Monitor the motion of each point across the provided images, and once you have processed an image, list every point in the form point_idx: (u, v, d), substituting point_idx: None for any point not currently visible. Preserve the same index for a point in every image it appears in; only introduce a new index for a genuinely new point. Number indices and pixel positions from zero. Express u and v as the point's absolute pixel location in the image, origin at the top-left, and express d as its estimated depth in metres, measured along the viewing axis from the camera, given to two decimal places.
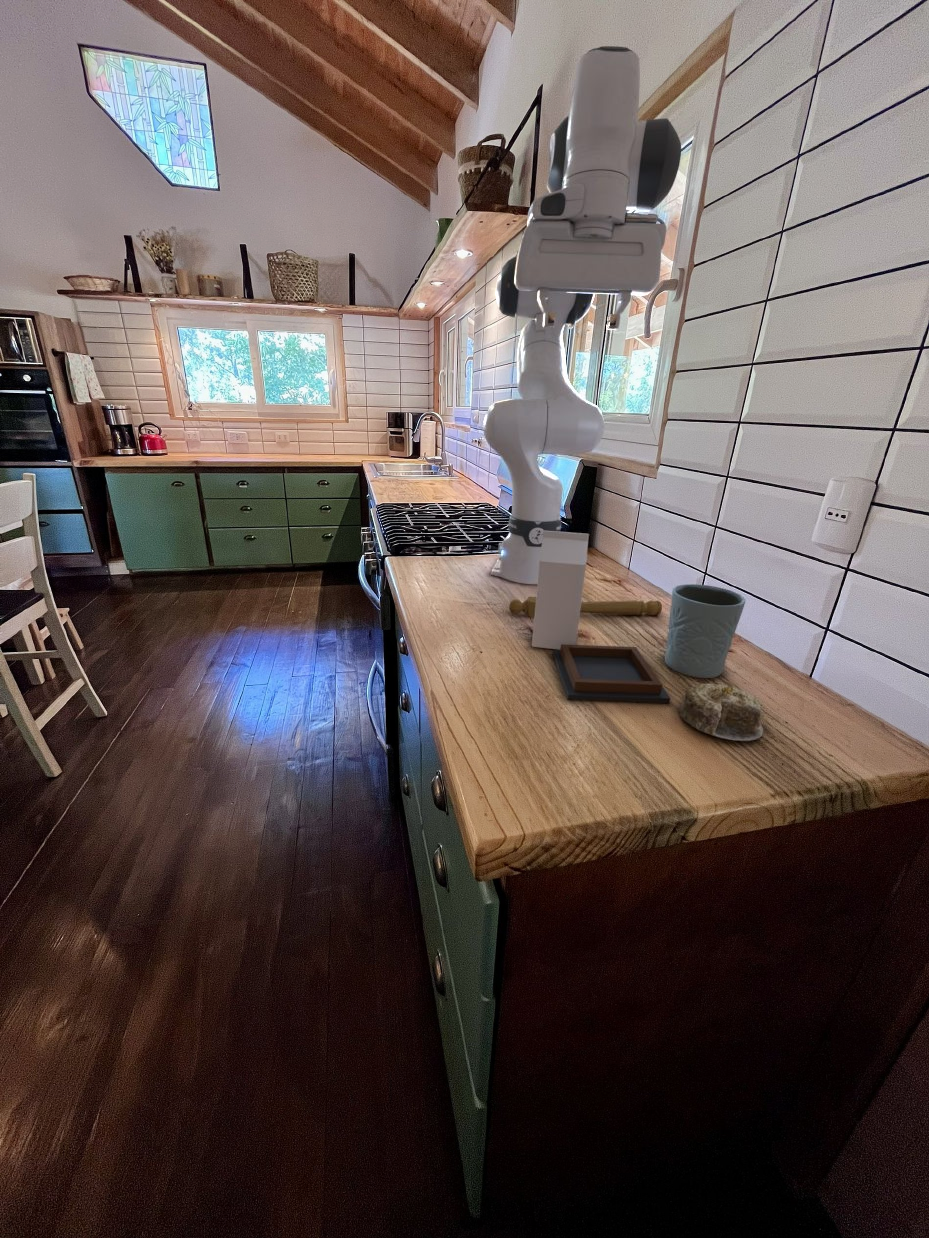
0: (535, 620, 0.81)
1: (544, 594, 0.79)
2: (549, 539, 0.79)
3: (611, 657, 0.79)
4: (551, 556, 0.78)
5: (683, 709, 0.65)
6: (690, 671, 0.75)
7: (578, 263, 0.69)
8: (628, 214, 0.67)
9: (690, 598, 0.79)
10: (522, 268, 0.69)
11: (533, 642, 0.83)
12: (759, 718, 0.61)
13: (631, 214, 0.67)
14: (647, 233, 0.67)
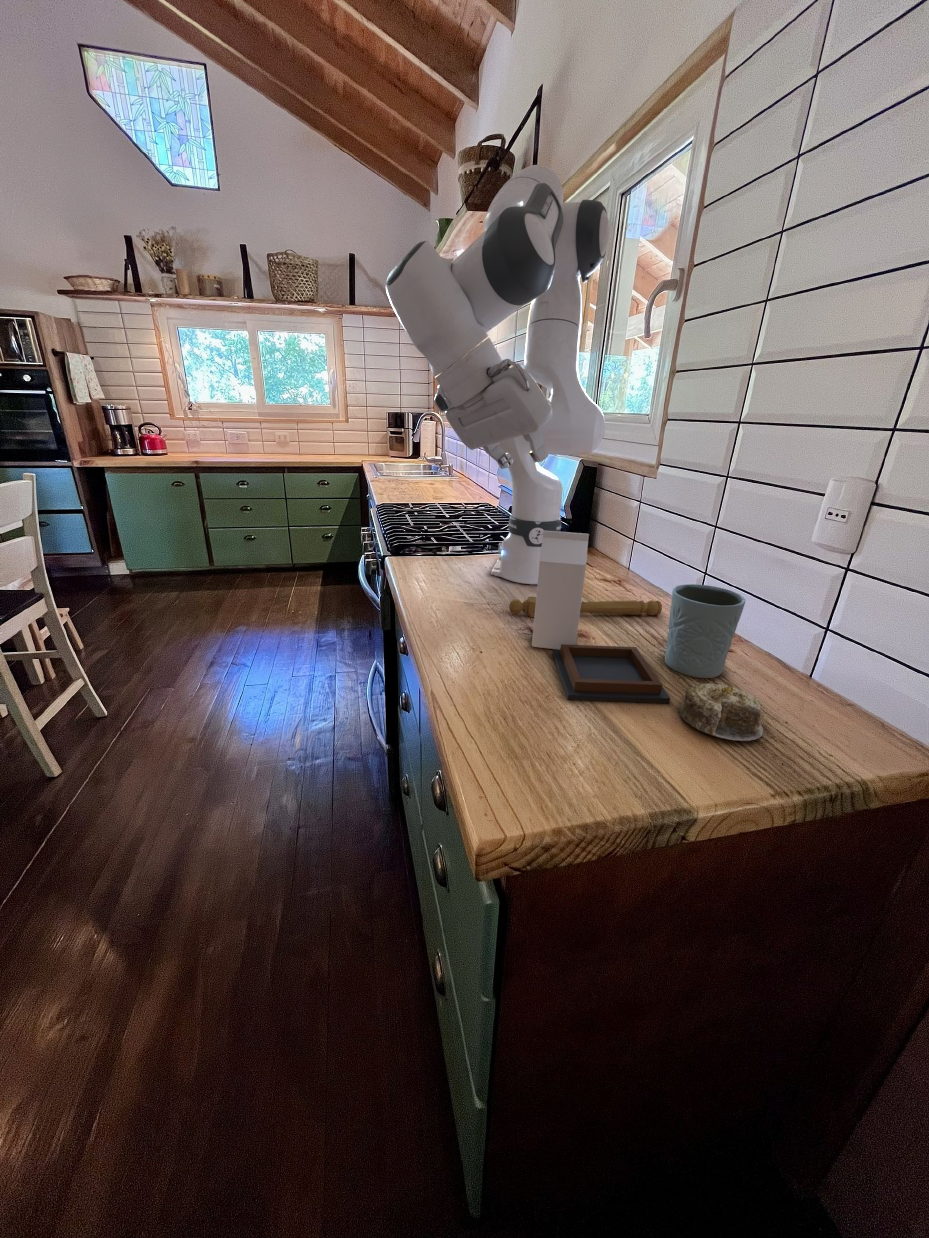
0: (535, 620, 0.81)
1: (544, 594, 0.79)
2: (549, 539, 0.79)
3: (611, 657, 0.79)
4: (551, 556, 0.78)
5: (683, 709, 0.65)
6: (690, 671, 0.75)
7: (483, 427, 0.72)
8: (488, 371, 0.64)
9: (690, 598, 0.79)
10: (463, 441, 0.79)
11: (533, 642, 0.83)
12: (759, 718, 0.61)
13: (490, 370, 0.63)
14: (501, 390, 0.62)
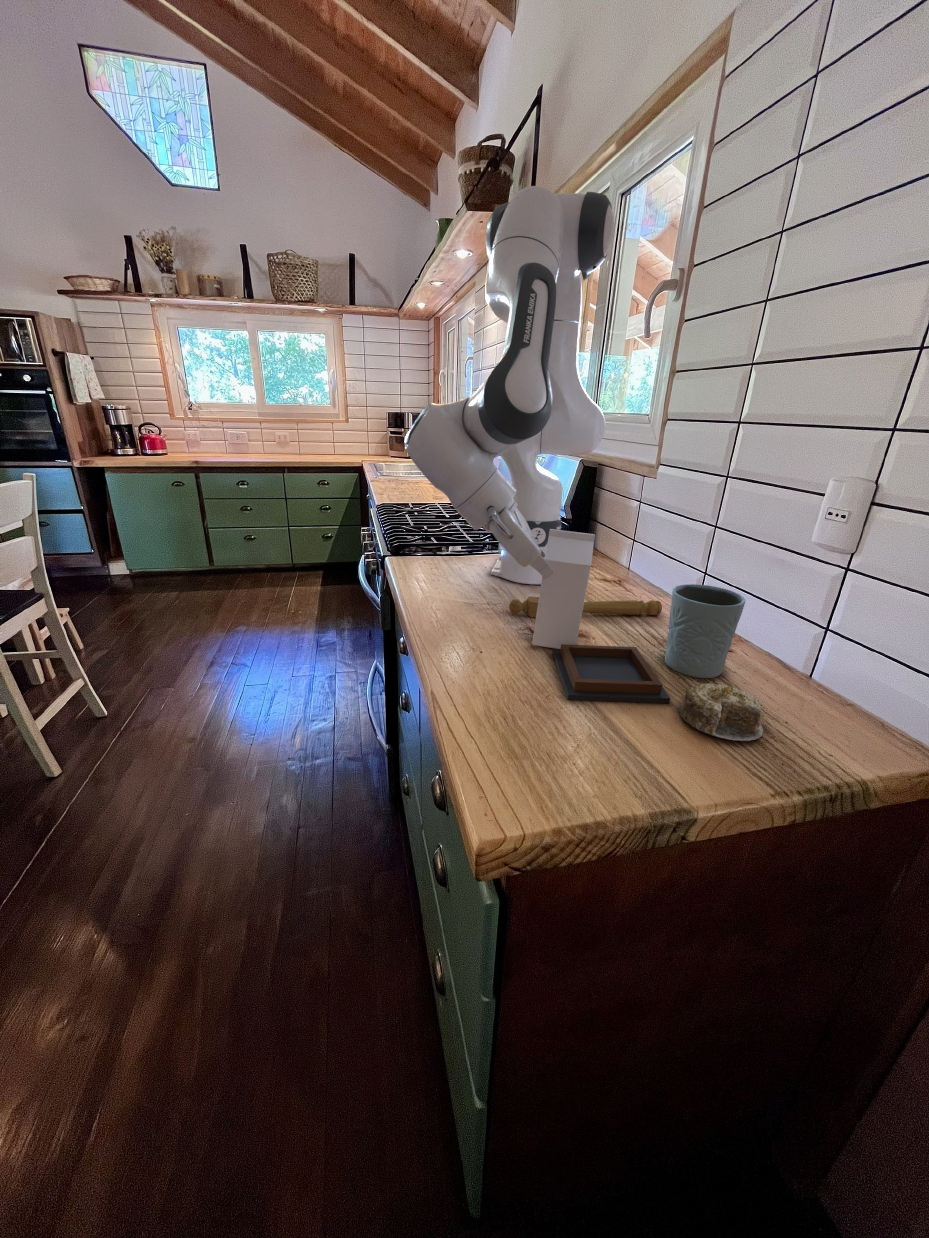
0: (537, 618, 0.81)
1: (547, 593, 0.79)
2: (555, 538, 0.79)
3: (611, 657, 0.79)
4: (556, 555, 0.77)
5: (683, 709, 0.65)
6: (690, 671, 0.75)
7: None
8: (488, 511, 0.72)
9: (690, 598, 0.79)
10: None
11: (534, 640, 0.83)
12: (759, 718, 0.61)
13: None
14: None
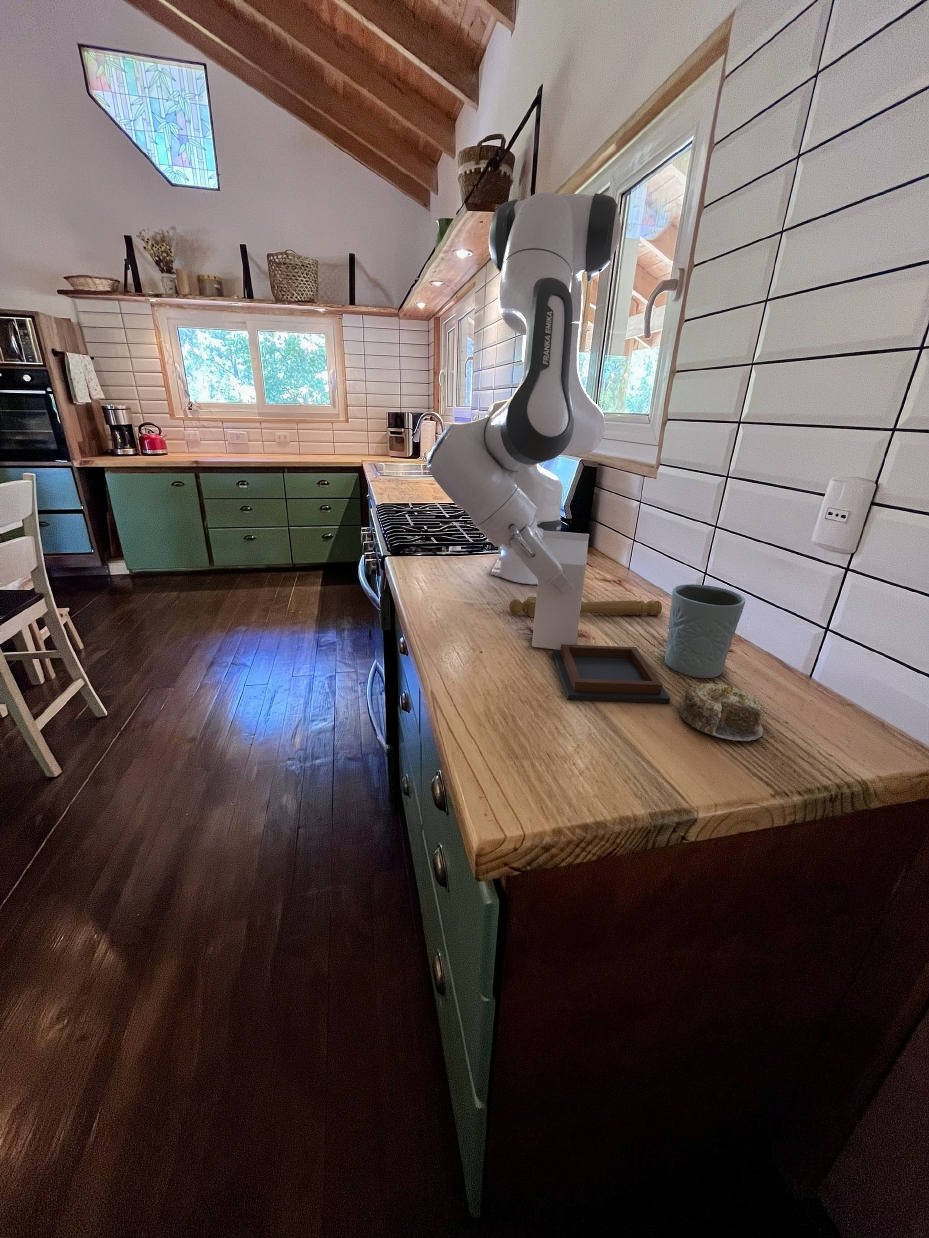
0: (535, 620, 0.81)
1: (544, 594, 0.79)
2: (549, 539, 0.79)
3: (611, 657, 0.79)
4: None
5: (683, 709, 0.65)
6: (690, 671, 0.75)
7: None
8: (509, 529, 0.73)
9: (690, 598, 0.79)
10: None
11: (533, 642, 0.83)
12: (759, 718, 0.61)
13: (509, 530, 0.73)
14: None
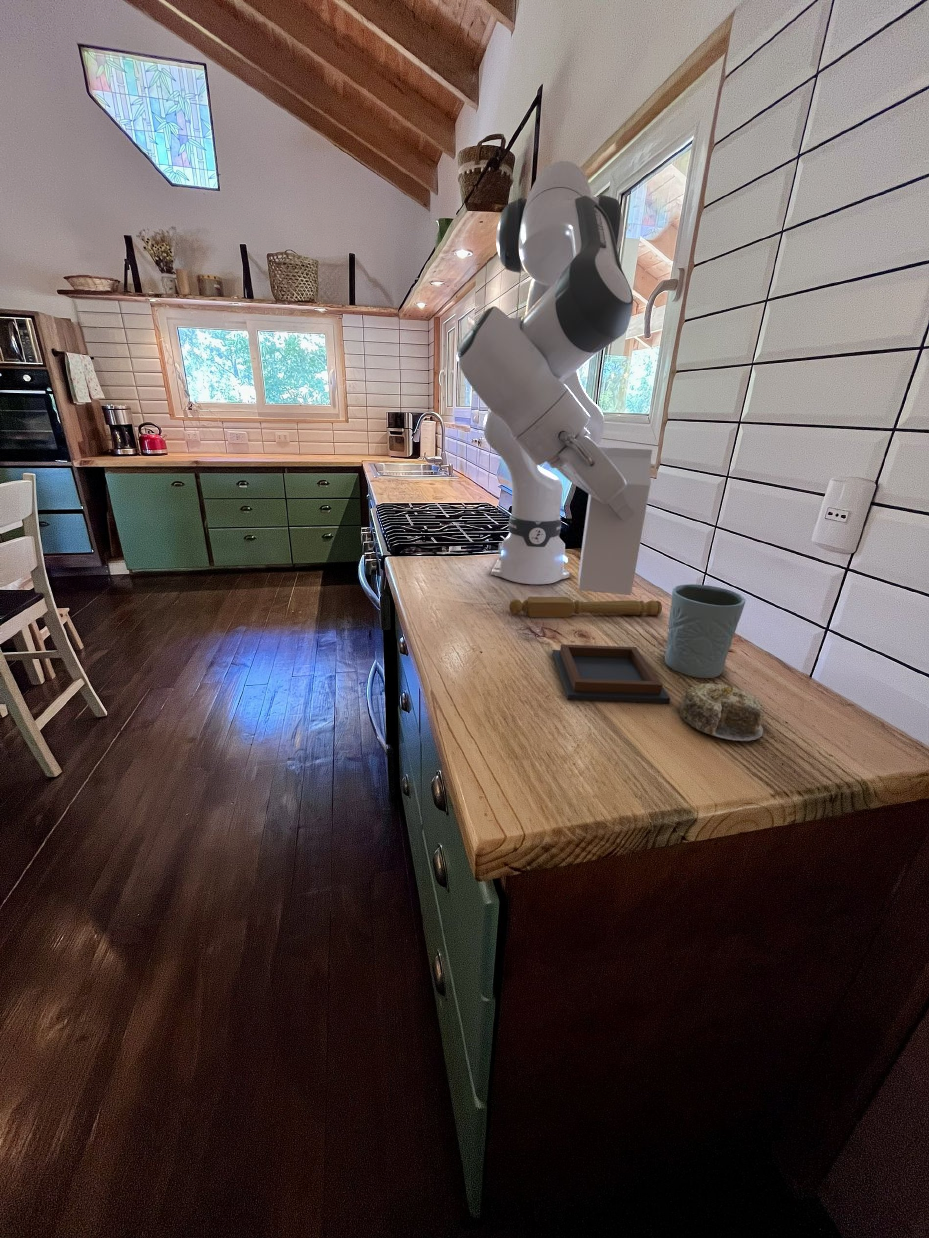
0: (584, 557, 0.68)
1: (596, 524, 0.66)
2: None
3: (611, 657, 0.79)
4: None
5: (683, 709, 0.65)
6: (690, 671, 0.75)
7: (572, 477, 0.68)
8: (559, 437, 0.60)
9: (690, 598, 0.79)
10: None
11: (581, 585, 0.69)
12: (759, 718, 0.61)
13: (560, 437, 0.60)
14: (567, 462, 0.59)
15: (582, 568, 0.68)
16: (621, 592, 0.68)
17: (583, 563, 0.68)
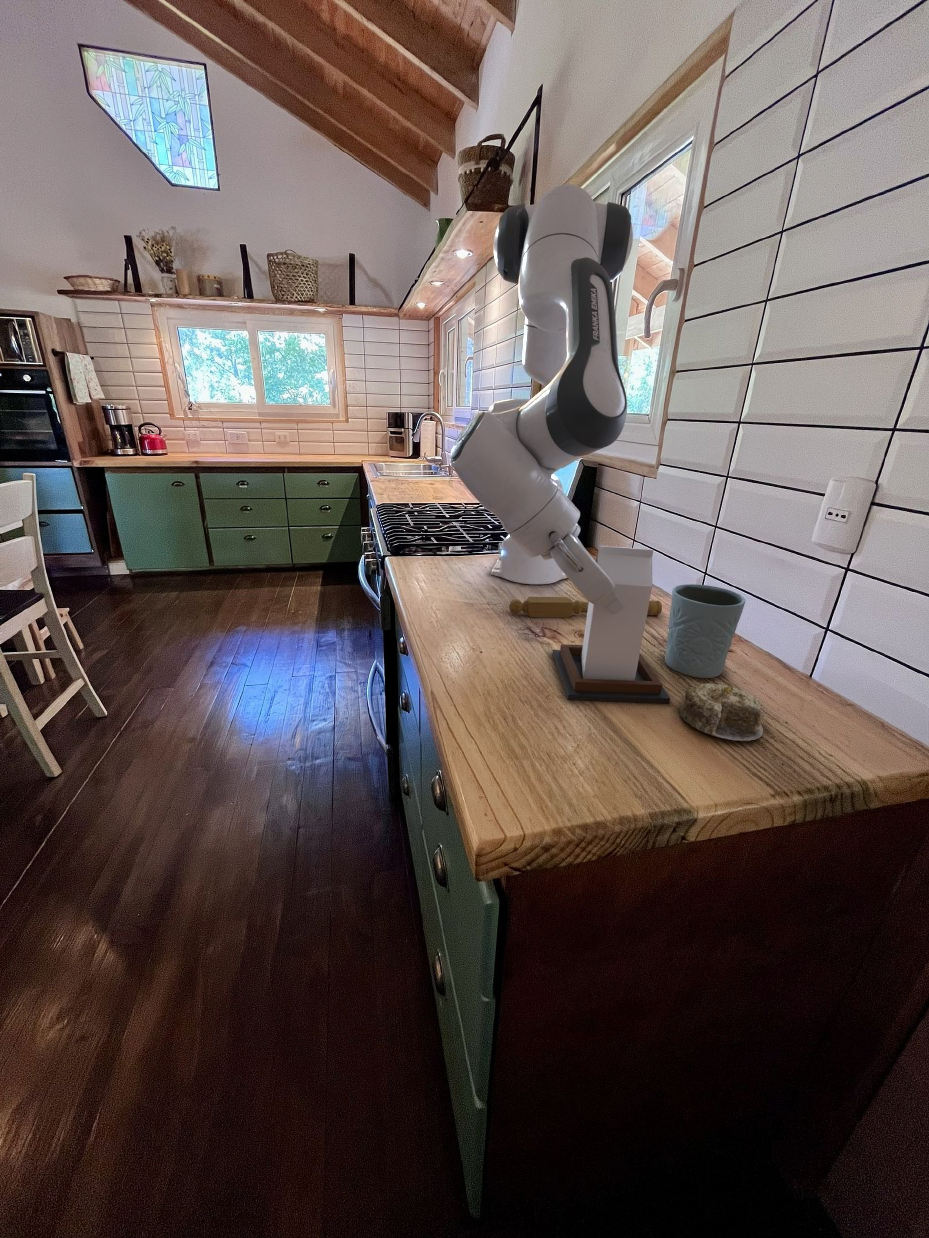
0: (588, 650, 0.70)
1: (600, 620, 0.68)
2: (606, 556, 0.68)
3: None
4: (610, 576, 0.66)
5: (683, 709, 0.65)
6: (690, 671, 0.75)
7: None
8: (549, 537, 0.62)
9: (690, 598, 0.79)
10: None
11: (585, 674, 0.71)
12: (759, 718, 0.61)
13: (550, 538, 0.61)
14: (557, 564, 0.60)
15: (586, 659, 0.70)
16: None
17: (587, 655, 0.70)
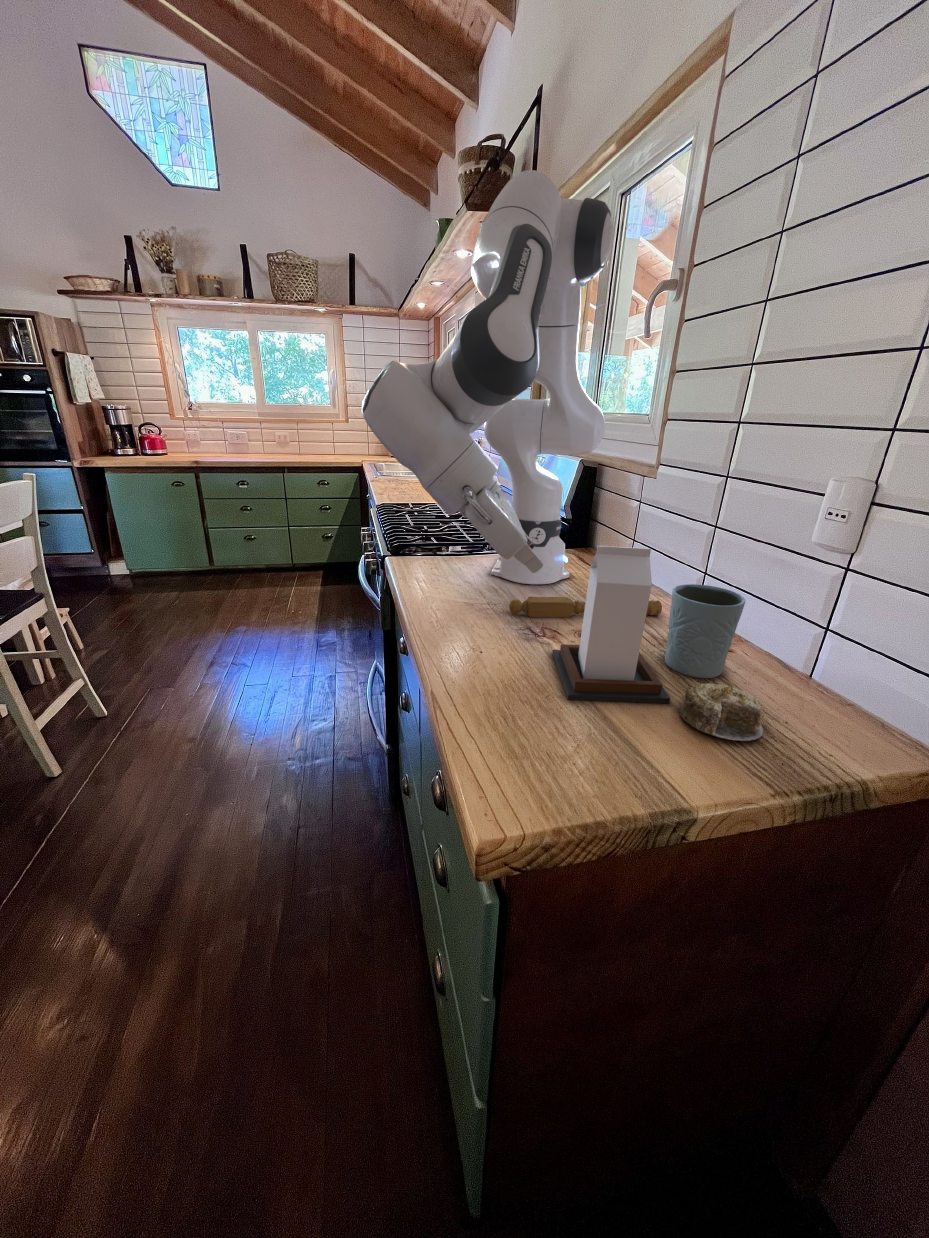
0: (588, 650, 0.70)
1: (600, 620, 0.68)
2: (604, 556, 0.68)
3: None
4: (610, 576, 0.66)
5: (683, 709, 0.65)
6: (690, 671, 0.75)
7: None
8: (463, 492, 0.60)
9: (690, 598, 0.79)
10: None
11: (585, 675, 0.71)
12: (759, 718, 0.61)
13: None
14: None
15: (586, 660, 0.70)
16: None
17: (587, 655, 0.70)
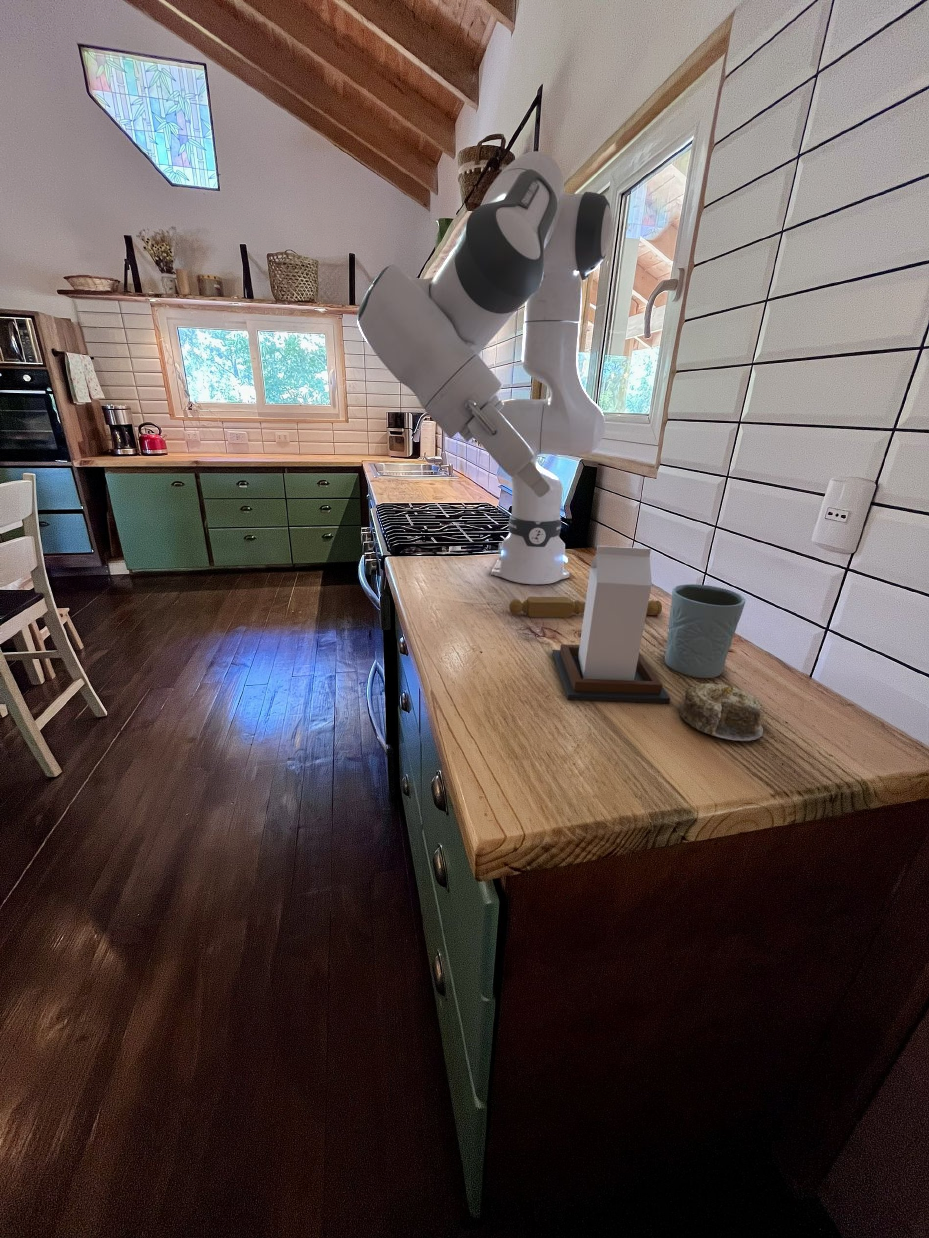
0: (588, 650, 0.70)
1: (600, 620, 0.68)
2: (604, 556, 0.68)
3: None
4: (610, 576, 0.66)
5: (683, 709, 0.65)
6: (690, 671, 0.75)
7: None
8: (465, 406, 0.56)
9: (690, 598, 0.79)
10: None
11: (585, 675, 0.71)
12: (759, 718, 0.61)
13: None
14: (471, 432, 0.55)
15: (586, 660, 0.70)
16: None
17: (587, 655, 0.70)
